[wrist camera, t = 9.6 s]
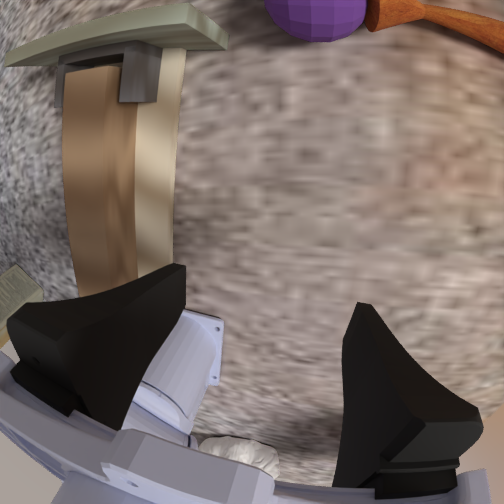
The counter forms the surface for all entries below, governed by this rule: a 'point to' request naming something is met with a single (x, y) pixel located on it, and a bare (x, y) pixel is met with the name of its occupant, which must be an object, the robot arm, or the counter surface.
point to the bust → (244, 452)
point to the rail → (99, 179)
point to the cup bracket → (137, 97)
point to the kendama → (375, 18)
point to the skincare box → (15, 296)
